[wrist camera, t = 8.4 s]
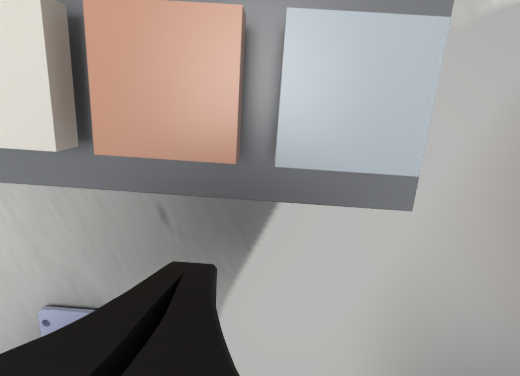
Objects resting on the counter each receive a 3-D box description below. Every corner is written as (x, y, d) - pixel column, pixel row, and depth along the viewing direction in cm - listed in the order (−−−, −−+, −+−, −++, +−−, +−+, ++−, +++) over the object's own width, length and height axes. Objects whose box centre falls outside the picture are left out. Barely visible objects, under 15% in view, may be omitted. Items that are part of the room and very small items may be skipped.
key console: (390, 193, 18) (412, 211, 16) (7, 167, 19) (-40, 179, 16) (424, -5, 16) (459, -28, 13) (-22, -31, 16) (-86, -59, 13)
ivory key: (110, 138, 17) (56, 151, 13) (6, 131, 17) (-83, 142, 13) (103, 22, 15) (39, -7, 11) (-11, 15, 16) (-118, -17, 11)
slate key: (381, 156, 17) (419, 176, 12) (274, 149, 17) (274, 166, 12) (400, 39, 15) (451, 16, 11) (282, 32, 15) (286, 7, 11)
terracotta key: (245, 147, 17) (235, 164, 12) (139, 140, 17) (94, 154, 13) (250, 30, 15) (242, 5, 11) (134, 23, 15) (82, -5, 11)
